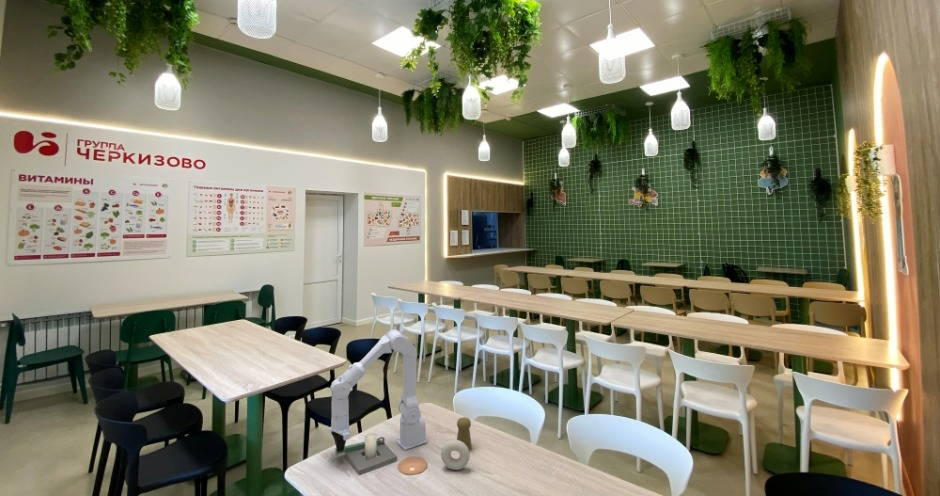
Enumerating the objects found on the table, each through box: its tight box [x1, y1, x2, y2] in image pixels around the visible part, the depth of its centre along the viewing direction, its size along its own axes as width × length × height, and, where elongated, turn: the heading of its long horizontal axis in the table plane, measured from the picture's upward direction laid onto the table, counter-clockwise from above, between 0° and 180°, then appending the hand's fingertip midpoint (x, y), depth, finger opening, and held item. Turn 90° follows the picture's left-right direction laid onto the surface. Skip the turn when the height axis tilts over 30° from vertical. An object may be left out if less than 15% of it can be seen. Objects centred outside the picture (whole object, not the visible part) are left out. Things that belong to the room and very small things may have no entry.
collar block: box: [344, 443, 398, 476], centre depth 138 cm, size 14×14×2 cm
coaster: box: [397, 456, 428, 476], centre depth 134 cm, size 10×10×1 cm
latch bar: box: [334, 436, 386, 456], centre depth 142 cm, size 18×2×2 cm, turn 116°
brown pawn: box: [456, 416, 473, 452], centre depth 145 cm, size 6×6×11 cm
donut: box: [440, 439, 471, 471], centre depth 132 cm, size 10×4×10 cm, turn 82°
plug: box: [364, 433, 378, 460], centre depth 138 cm, size 4×4×8 cm
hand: (340, 450), depth 137 cm, fingers closed
